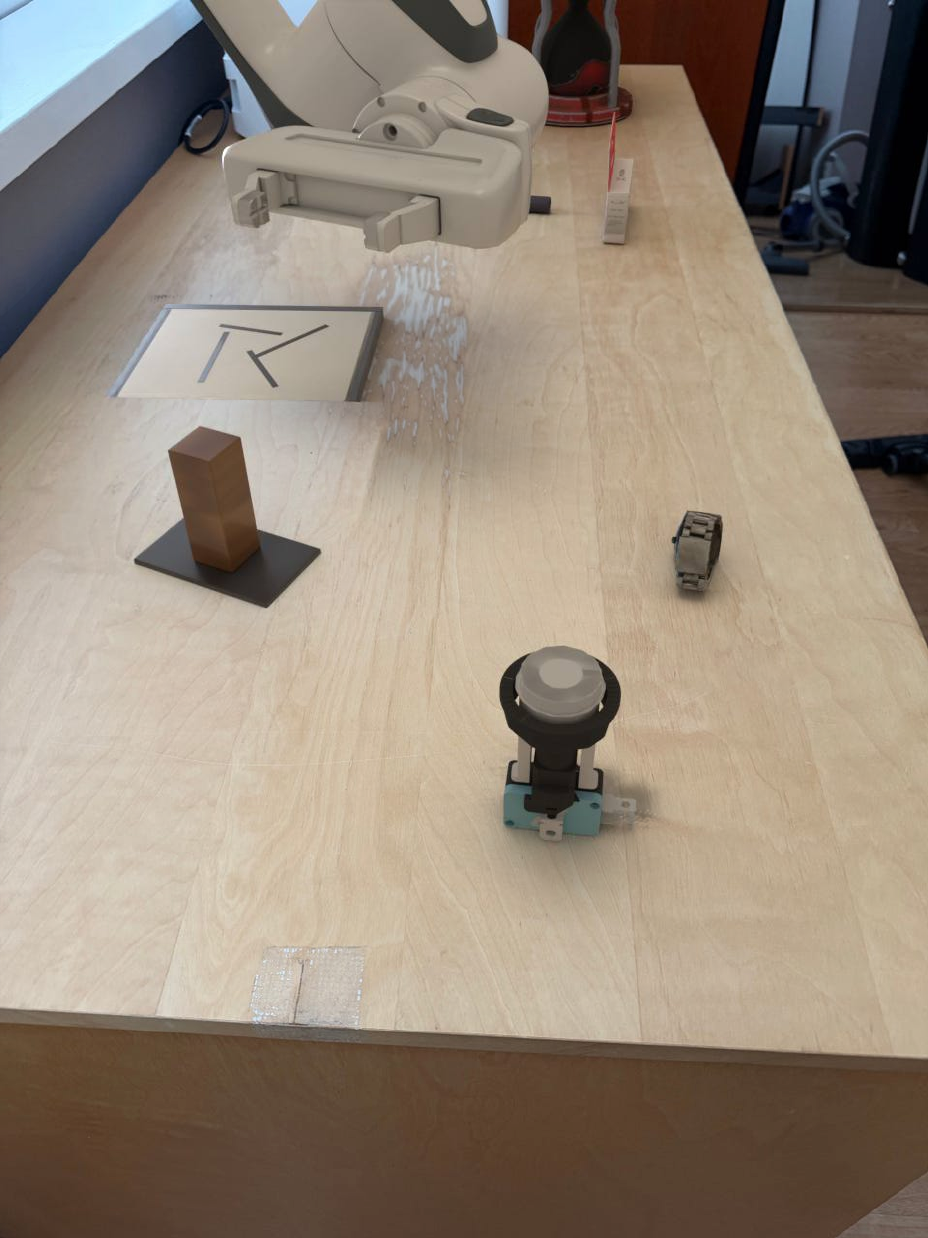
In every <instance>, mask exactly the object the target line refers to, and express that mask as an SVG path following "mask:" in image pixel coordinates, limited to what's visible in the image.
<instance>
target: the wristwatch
mask: <svg viewBox="0 0 928 1238" xmlns="http://www.w3.org/2000/svg"><path fill="white" fill-rule="evenodd" d="M722 519H723V516H722V515H721V514H717V513H710V512H704V511H698V510H697V511H696V510H688V509H686V512H685V513H684V515H683V517H682V520H681V522H680V524H679V526H677V530H676V533H675V536H672V537H671V543H672V544H673V557H674V562H675V567H674V570H675V572H676V574H675V577H676V578H675V586H676V588H681V589H685V590H690V591H691V590H692V591H700V592H705V591H706V590H707V589H708V585H709V584H710V583H711V580H712V577H713V574H714V571H715V568H716V565H717V563H718V562H719V558H720V553H721V549H722V540H723V533H724V532H723V531H724V523H723V520H722Z"/></svg>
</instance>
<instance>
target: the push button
mask: <svg viewBox="0 0 928 1238" xmlns="http://www.w3.org/2000/svg"><path fill="white" fill-rule="evenodd" d="M498 693H499V694H498V697H499V704H500V706H501V708H502V710H503V713H504V714H503V715H504V717H505V722H506V724H507V727H508V729H510V731H512V732H513V733H515V734H516V735H517V759H512V760H510V761H508V765H507V771H506V778H505V784H504V792H503V815H502V816H503V817H502V820H503V822H502V823H503V825H504V826H505V827H506V828H510V829H525V830H534V831H539V836H538V837H539V838H540V839H541V840H543V841H553V842H559V841H561V840H563V834H572V835H579V836H580V835H581V836H590V837H595V836H597V835H599V834H600V827H601V825H610V826H611V825H612V823H613V824H614V823H615V824H622V825H623V824H624V825H625V824H626V825H634V824H635V813H636V812H637V799H635V798H629V797H619V796H615V795H614V794H613V793H611V794H610V793H604V792H603V790H604V776H605V775H604V770H603V769H601V768H598V767H594V766H595V755H596V754H595V753H596V746H597V743H599V742H601V740H603V739H604V738H605V737H606V735H607V732H608V729H609V726H610V724H611V723H612V721H613V720H614V719H615V717H616V716H617V714H618V712H619V710H620V706H621V701H622V689H621V684H620V681H619V680H618V677H617V675H616V674H615V673H614V671H613V670H612V669H611V668H610V667H609V666H608V664H606V663H604V662H603V661H601V660H600V659H599V658H597V657H595V656H593V655H591V654H589V653H587V652H586V651H584V650H583V649H581V648H580V649H579V648H577V647H576V648H575V647H572V646H568V645H553V646H551V645H550V646H544V647H542V648H540V649H537V650H535V651H531V652H529V653H527V654H524V655H522V656H520V657H518V658H517V659H516V660H514V661H513V662H512V663H511V664H510V665H508V667H506V669H505V671H504V672H503V673H502V676H501V678H500V682H499V687H498ZM517 699H518V703H517V701H516V700H517ZM600 705H602V707H601V709H600ZM533 749H534V754H533ZM579 750H581V752H580V764H578V757H579V756H578V755H579V754H578V753H579ZM532 754H533V761H532ZM624 803H627V804H629V806H628V807H624V806H623V804H624ZM621 815H626V816H627V818H626V819H623V818H621ZM547 832H552V833H554V834H553V835H552V834H548V833H547Z"/></svg>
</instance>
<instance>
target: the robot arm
mask: <svg viewBox="0 0 928 1238" xmlns="http://www.w3.org/2000/svg"><path fill="white" fill-rule="evenodd" d="M189 2H190V3H191V5H192V6H193V7H194V8H195V10H196V11H197V13H198V14H199V16H200V18H202V20H203V22H204V23H205V25H206V26H207V27H208V29H209V30H210V31H211V33H212V34H213V35H214V37H215V38H216V40H217V41H218V43H219V44H220V46H221V48H223V50H224V51H225V53H226V54H227V56H228V57H229V59H230V60H231V61H232V63H233V65H234V66H235V67H236V68H237V70H238V72H239V73H240V75H241V76H242V77H243V80H244V81H245V83H246V84H247V86H248V88H249V89H250V92H251V93H252V95H253V97H254V99H255V101H256V103H257V105H258V107H259V109H260V111H261V113H262V115H263V117H264V119H265V121H266V123H267V125H268V127H269V130H265V131H263V132H260V133H258V134H255V135H252V136H249V137H247V138H245V139H242V140H239V141H237V142H235V143H232V144H229V145H228V146H227V147H225V149H224V150H223V152H222V161H221V162H222V172H223V178H224V183H225V187H226V192H227V195H228V199H229V201H230V207H231V213H232V219H233V222H234V224H235V225H236V226H240V227H247V228H254V229H259V228H260V227H261V226H263V225H266V224H268V223H269V222H271V220H270V213H272V214H278V215H283V216H289V217H294V218H300V219H306V220H312V221H316V222H322V223H328V224H335V225H339V226H346V227H352V228H357V229H362V231H363V233H362V234H363V235H364V236H365V237H364V240H363V244H364V247H365V249H367V250H370V251H375V252H381V253H386V254H390V253H391V252H392V251H394V250H395V249H397V248H398V247H399V246H405V245H410V244H415V243H420V242H421V243H422V242H425V241H431V242H434V243H435V242H436V243H442V244H447V245H453V246H457V247H464V248H468V249H469V248H470V249H474V250H484V249H491V248H496V247H497V248H498V247H499V246H501V245H503V244H504V243H505V242H507V240H509V239H510V238H511V237H512V236H513V235H514V234H516V232H517V231H518V230H519V228H520V227H521V226H522V225H523V224H525V223H526V222H527V221H528V219H529V213H530V212H529V207H530V199H531V195H532V187H533V186H532V185H533V183H532V182H533V148H534V147H535V145H536V143H537V142H538V140H539V139H540V138H541V135H542V133H543V130H544V129H545V126H546V124H545V123H546V119H547V114H548V106H549V91H548V85H547V80H546V77H545V74H544V72H543V70H542V68H541V66H540V65H539V63H538V62H537V60H536V59H535V58H534V56H533V55H532V52H530V51H529V50H528V49H527V48H525V47H524V46H522V45H521V44H519V43H517V42H515V41H513V40H511V39H509V38H507V37H505V36H503V35H501V34H500V33H498V32H497V28H496V25H495V21H494V17H493V15H492V12H491V8H490V5H489V3H488V1H487V0H316V2H315V3H314V5H313V6H312V7H311V9H310V10H309V11H308V13H307V14H306V16H305V17H304V19H303V20H302V21H301V23H299V25H298V26H297V25H296V24H295V23H294V22H293V20H292V19H291V17H290V16H289V14H288V12H287V11H286V10H285V8H284V6H283V5H282V4H281V2H280V1H279V0H189Z"/></svg>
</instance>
